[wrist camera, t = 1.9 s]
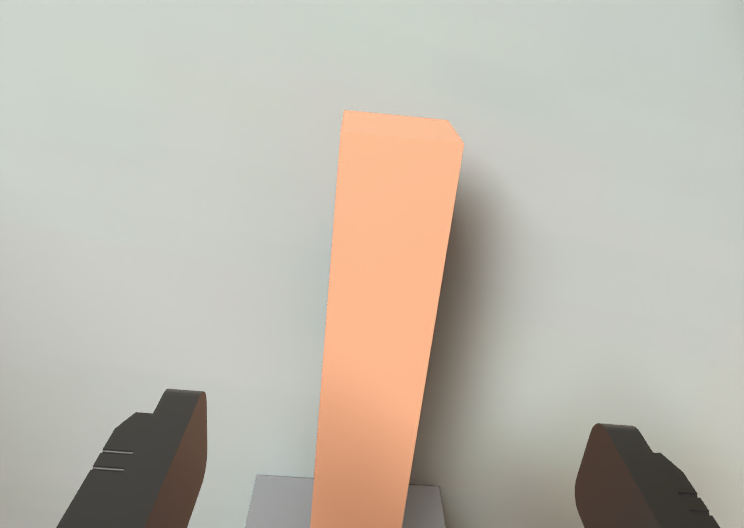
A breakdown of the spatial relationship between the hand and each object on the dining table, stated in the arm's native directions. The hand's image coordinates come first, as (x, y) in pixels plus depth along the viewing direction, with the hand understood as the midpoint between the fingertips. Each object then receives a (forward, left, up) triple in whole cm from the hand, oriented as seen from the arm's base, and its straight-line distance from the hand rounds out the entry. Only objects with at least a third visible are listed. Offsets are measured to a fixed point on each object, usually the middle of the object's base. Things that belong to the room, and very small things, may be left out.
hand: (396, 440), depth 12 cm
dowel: (+3, 0, -9) cm, 9 cm away
